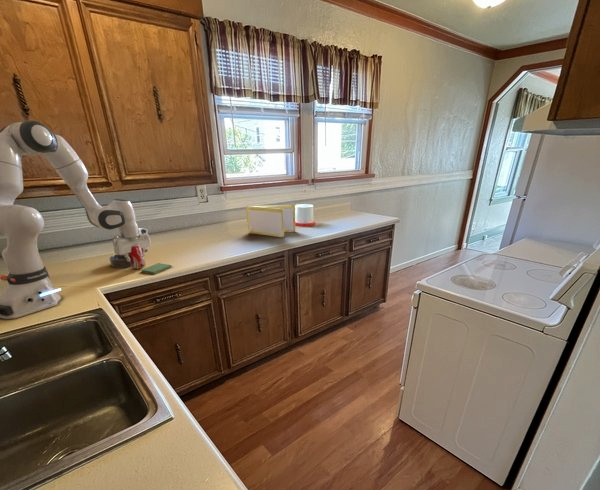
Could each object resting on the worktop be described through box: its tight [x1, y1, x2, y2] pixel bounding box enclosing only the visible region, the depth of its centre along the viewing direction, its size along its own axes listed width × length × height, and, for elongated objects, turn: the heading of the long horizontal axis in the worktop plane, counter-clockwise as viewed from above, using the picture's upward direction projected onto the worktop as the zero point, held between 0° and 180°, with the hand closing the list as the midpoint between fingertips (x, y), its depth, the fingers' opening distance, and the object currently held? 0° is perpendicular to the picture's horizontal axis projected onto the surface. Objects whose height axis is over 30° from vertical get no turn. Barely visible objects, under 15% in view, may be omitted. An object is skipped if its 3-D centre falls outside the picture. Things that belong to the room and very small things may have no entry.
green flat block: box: [140, 262, 172, 275], centre depth 171 cm, size 12×9×1 cm
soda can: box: [128, 244, 146, 270], centre depth 171 cm, size 7×7×12 cm
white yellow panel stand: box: [245, 204, 296, 238], centre depth 232 cm, size 35×22×20 cm, turn 98°
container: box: [294, 203, 315, 227], centre depth 264 cm, size 16×16×15 cm
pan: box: [108, 254, 132, 269], centre depth 179 cm, size 13×13×4 cm
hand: (136, 258), depth 172 cm, fingers closed on soda can, 7 cm apart
